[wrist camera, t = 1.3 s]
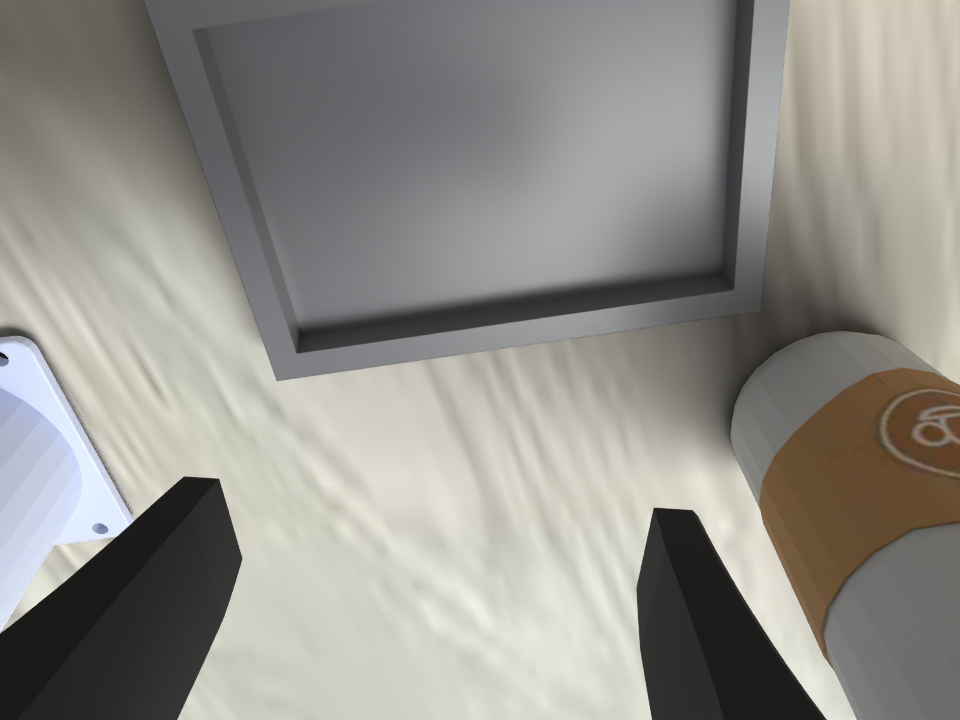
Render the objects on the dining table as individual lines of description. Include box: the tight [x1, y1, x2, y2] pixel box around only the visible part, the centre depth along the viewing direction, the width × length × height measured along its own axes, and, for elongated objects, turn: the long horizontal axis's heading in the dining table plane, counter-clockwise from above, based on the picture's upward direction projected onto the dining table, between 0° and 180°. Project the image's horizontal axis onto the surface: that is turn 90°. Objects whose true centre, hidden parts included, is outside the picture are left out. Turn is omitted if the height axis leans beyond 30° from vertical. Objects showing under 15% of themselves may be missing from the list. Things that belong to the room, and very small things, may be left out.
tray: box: [144, 0, 790, 381], centre depth 18 cm, size 14×10×2 cm
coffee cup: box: [730, 331, 960, 720], centre depth 17 cm, size 8×8×15 cm
